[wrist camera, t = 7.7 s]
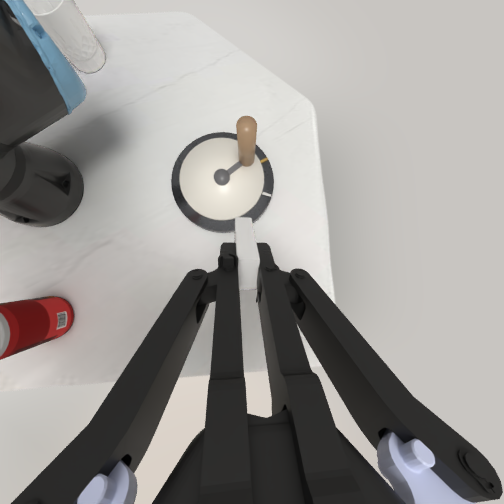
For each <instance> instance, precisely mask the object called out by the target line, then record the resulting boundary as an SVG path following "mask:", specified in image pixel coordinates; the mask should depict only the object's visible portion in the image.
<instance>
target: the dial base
mask: <svg viewBox="0 0 504 504" xmlns="http://www.w3.org/2000/svg"><path fill="white" fill-rule="evenodd" d="M213 138H230V139H234V140H237V134H233V133H225V132H220V133H212V134H208V135H205V136H202V137H200V138H198V139H196V140H195V141H193V142H192V143H190V144H189V145H188V146H187V147H186V148H185V149H184V150H183V151H182V152H181V154H180V155H179V157H178V159H177V160H176V162H175V165H174V168H173V172H172V179H171V183H172V192H173V196H174V199H175V201H176V203H177V205H178V207H179V208H180V210H181V211H182V212H183V214H184V215H185V216H186V217H187V218H188V219H190V220H191V221H192V222H193V223H195V224H196V225H198V226H199V227H201V228H203V229H206V230H209V231H213V232H221V233H226V232H234V231H235V219H232V220H226V221H219V220H213V219H209V218H206V217H204V216H202V215H200V214H199V213H198V212H196V211H195V210H194V209H193V208H192V207H191V206H190V205H189V204H188V202H187V201H186V199H185V198H184V196H183V194H182V191H181V187H180V170H181V166H182V163H183V161H184V159H185V158H186V156H187V155H188V153H189V152H190V151H191V150H192V149H193V148H194V147H196V146H197V145H198V144H200V143H202V142H204V141H206V140H209V139H213ZM255 154H256V155H257V157H258V158H259V160H260V162H261V165H262V168H263V172H264V185H263V190H262V194H261V196H260V198H259V200H258V202H257V203H256V205H255V206H254V207H253V208H252V209H251V210H250V211H249V212H247V213H246V214H245V215H243V216H241V217H247V218H252V223H254V222H255V221H256V220H257V219H258V218H259V217H260V216H261V215H262V214H263V213H264V211H265V210H266V208H267V206H268V204H269V202H270V199H271V196H272V192H273V184H274V179H273V172H272V168H271V165H270V162H269V160H268V159H267V157H266V155H265V154H264V152H263V151H262V150H261V149H260V148H259V147H258V146H257V145H256V146H255Z"/></svg>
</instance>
